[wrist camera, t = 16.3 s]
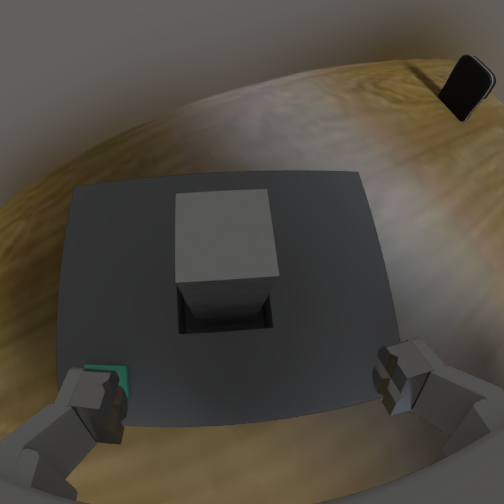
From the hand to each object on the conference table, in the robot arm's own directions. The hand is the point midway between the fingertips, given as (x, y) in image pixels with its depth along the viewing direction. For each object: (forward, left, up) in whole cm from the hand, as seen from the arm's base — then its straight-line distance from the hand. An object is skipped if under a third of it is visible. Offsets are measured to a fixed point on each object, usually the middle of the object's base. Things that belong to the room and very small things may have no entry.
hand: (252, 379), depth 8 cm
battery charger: (-40, -35, -15) cm, 56 cm away
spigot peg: (0, -6, -14) cm, 15 cm away
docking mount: (+1, -6, -15) cm, 16 cm away
